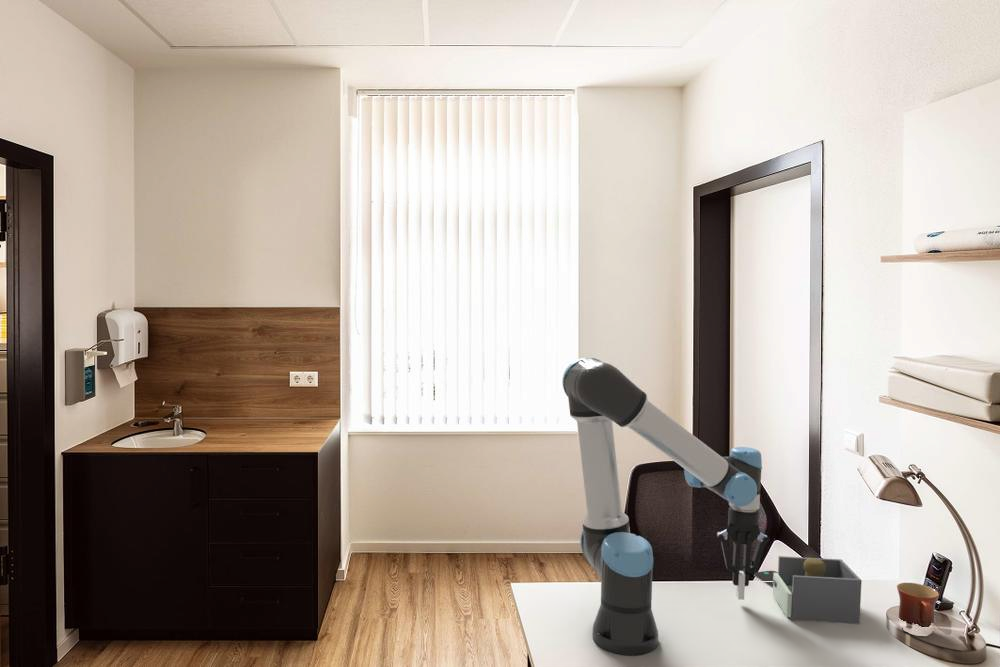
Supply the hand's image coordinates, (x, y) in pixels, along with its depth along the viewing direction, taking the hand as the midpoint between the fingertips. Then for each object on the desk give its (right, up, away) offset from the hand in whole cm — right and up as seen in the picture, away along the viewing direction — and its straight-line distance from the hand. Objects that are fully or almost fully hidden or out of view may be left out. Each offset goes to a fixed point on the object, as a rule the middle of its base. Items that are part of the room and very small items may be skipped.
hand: (739, 597), depth 185 cm
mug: (+38, -4, -15) cm, 41 cm away
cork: (+18, -1, -2) cm, 18 cm away
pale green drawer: (+17, -2, -2) cm, 17 cm away
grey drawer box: (+19, -2, -2) cm, 19 cm away
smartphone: (+16, -2, +14) cm, 21 cm away
